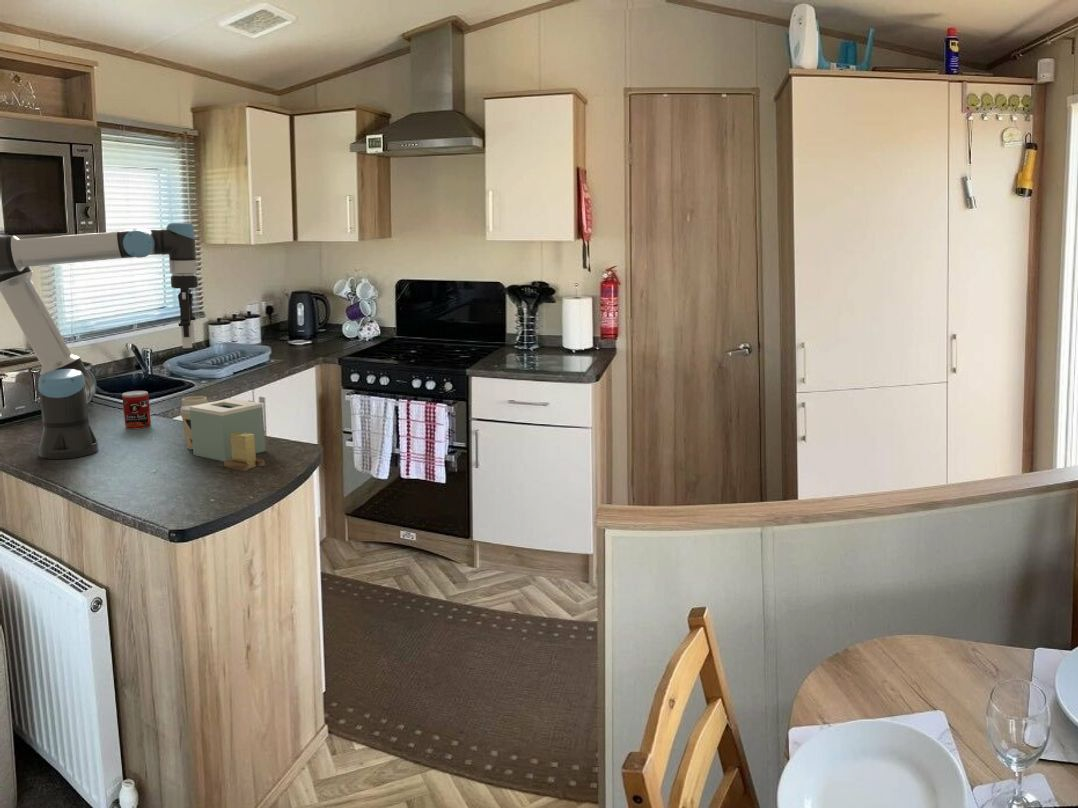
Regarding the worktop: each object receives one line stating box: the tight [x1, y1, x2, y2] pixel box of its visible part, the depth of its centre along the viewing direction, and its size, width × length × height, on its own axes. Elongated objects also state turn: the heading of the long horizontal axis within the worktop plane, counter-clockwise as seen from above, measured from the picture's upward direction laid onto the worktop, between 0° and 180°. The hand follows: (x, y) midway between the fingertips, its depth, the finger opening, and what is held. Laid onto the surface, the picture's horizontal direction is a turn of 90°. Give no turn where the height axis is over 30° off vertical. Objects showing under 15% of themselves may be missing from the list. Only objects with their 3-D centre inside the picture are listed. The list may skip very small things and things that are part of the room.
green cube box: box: [190, 397, 266, 462], centre depth 261 cm, size 14×14×14 cm
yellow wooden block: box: [230, 431, 257, 469], centre depth 248 cm, size 3×6×9 cm, turn 56°
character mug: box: [180, 395, 210, 418], centre depth 275 cm, size 11×7×13 cm, turn 155°
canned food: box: [121, 390, 152, 429], centre depth 295 cm, size 8×8×11 cm
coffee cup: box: [180, 404, 200, 450], centre depth 268 cm, size 9×9×12 cm
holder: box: [223, 457, 266, 472], centre depth 248 cm, size 7×8×2 cm
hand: (188, 344), depth 279 cm, fingers open, 13 cm apart
